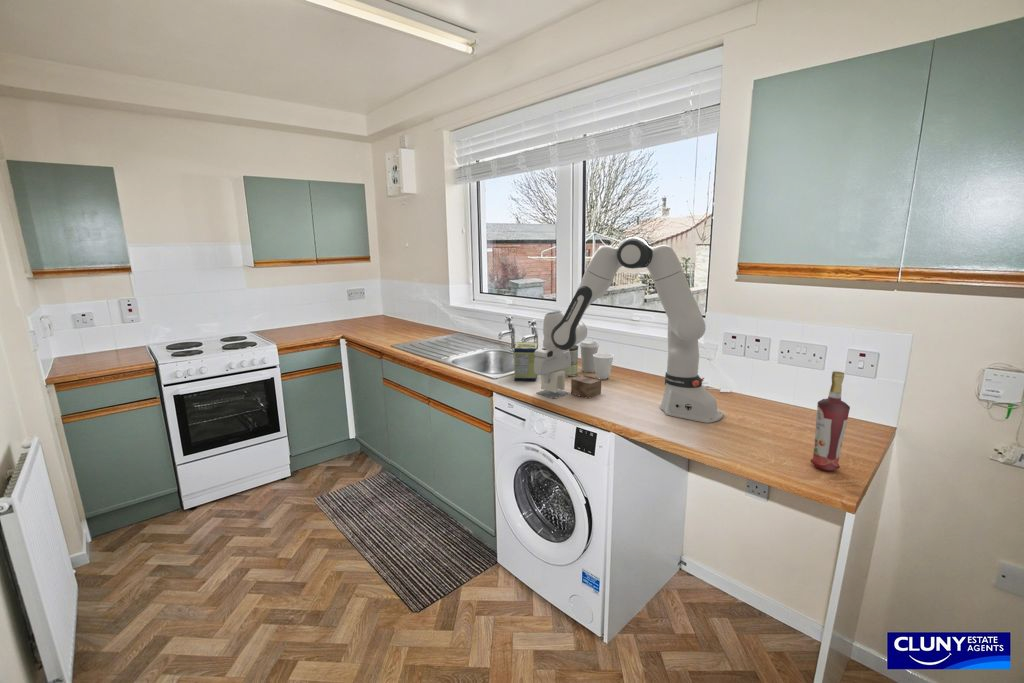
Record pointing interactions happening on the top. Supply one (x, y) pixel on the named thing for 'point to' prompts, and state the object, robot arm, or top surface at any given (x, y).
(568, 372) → the coffee can
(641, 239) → the robot arm
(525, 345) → the protein box
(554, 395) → the mat
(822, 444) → the liquor
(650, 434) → the top surface
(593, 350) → the coffee cup
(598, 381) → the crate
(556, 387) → the cream square bin
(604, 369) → the cup
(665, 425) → the top surface
